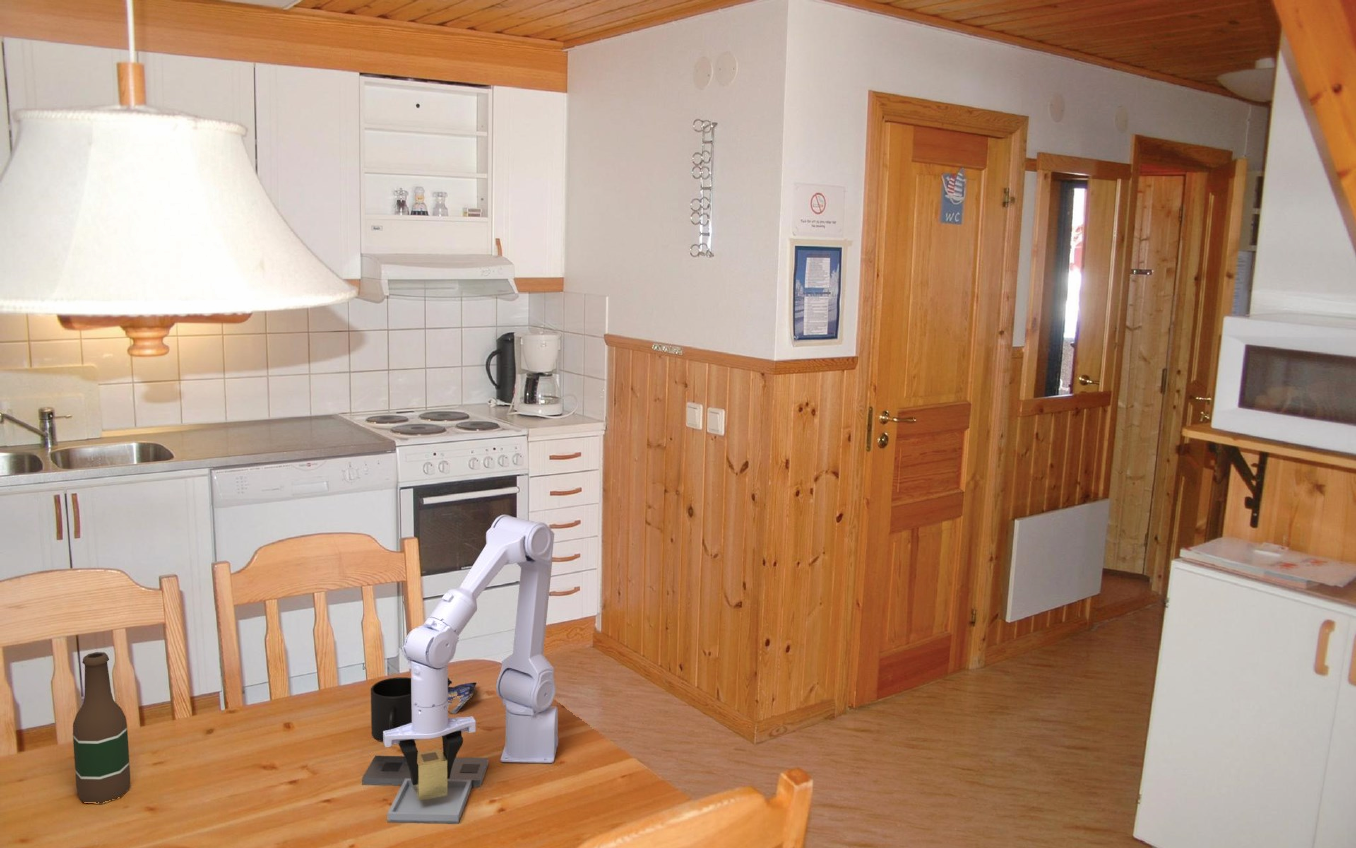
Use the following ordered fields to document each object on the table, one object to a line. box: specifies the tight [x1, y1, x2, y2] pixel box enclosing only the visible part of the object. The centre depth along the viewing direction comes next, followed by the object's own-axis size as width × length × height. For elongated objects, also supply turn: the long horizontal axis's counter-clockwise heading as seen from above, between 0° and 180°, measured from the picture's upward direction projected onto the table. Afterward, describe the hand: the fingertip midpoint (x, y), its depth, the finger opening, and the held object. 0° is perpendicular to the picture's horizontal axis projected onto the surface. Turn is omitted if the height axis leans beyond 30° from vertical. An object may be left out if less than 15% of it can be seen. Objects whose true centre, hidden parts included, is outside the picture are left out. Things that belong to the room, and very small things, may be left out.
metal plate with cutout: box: [361, 755, 489, 788], centre depth 178 cm, size 20×8×1 cm, turn 91°
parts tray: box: [386, 778, 473, 825], centre depth 168 cm, size 11×11×2 cm
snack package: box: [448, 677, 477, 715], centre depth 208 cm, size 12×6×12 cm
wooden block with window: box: [413, 748, 447, 801], centre depth 167 cm, size 5×5×6 cm
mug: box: [370, 676, 412, 743], centre depth 191 cm, size 9×12×9 cm
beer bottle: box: [72, 651, 131, 803], centre depth 167 cm, size 8×8×24 cm
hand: (430, 779), depth 167 cm, fingers closed on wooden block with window, 5 cm apart
